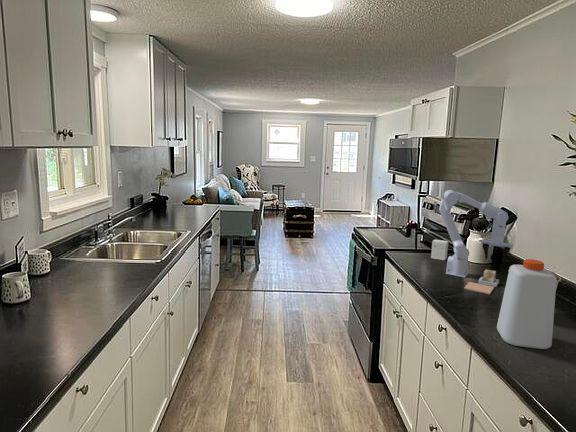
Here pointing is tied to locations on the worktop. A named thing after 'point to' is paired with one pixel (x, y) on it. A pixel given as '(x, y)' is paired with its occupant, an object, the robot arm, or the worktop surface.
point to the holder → (488, 282)
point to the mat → (479, 288)
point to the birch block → (489, 276)
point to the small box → (439, 249)
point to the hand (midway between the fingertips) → (494, 260)
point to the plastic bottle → (528, 306)
